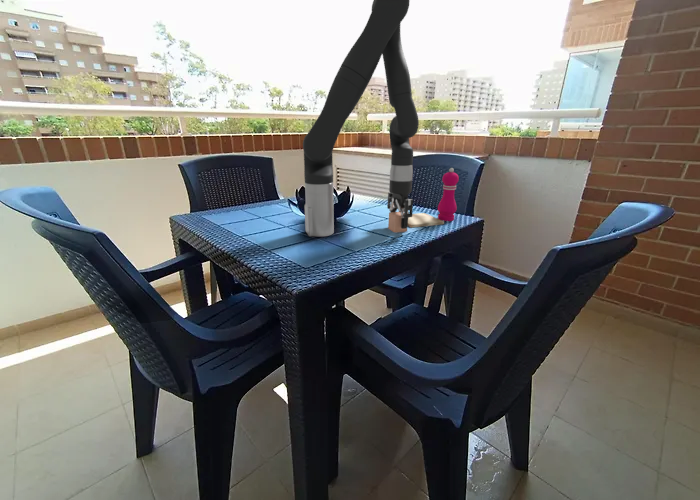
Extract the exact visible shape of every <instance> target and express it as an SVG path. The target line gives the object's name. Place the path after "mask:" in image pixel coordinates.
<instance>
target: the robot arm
mask: <svg viewBox="0 0 700 500" xmlns="http://www.w3.org/2000/svg"><path fill="white" fill-rule="evenodd" d="M410 1H411V0H373V1H372V5H371V13H370V15H369V17H368V20H367V23H366V25H365V26H364V28H363V30H362V32H361V33H360V35H359V37H358V38H357V39H356V41H355V42H354V44H353V46H351V49H349V51H348V53H347V54H346V56H345V58H344V59H343V62H342V63H341V65H340V67H339V69H338V71H337V73H336V75H335V77H334V79H333V82H332V83H331V86H330V88H329V91H328V94H327V96H326V99H325V103H324V105H323V107H322V109H321V112H320V114H319V115H318V117H317V119H316V120H315V122H314V123H313V126H312V127H311V128H310V130H309V131H308V132H307V134H306V135H305V136H304V139H303V141H302V149H303V164H304V165H303V168H304V174H303V175H304V191H305V196H304V197H305V204H304V224H305V225H304V227H305V232H306V234H307V236H308V237H328V236H331V235H333V234H334V232H335V229H334V228H335V225H334V222H335V219H334V218H335V217H334V214H335V213H334V211H335V210H334V206H335V205H334V169H333V168H334V167H333V151H334V148H335V145H336V143H337V140H338V138H339V135H340V132H341V130H342V128H343V126H344V125H345V123H346V121H347V120H348V118H349V117H350V115H351V113H352V112H353V111H354V109H355V108H356V106H357V104H358V103H359V101H360V99H361V98H362V96H363V94H364V93H365V92H366V89H367V88H368V85H369V84H370V81H371V79H372V77H373V75H374V73H375V71H376V69H377V66H378V65H379V63H380V59H381V58H383V59H382V60H383V65H384V71H385V73H384V74H385V79H386V87H387V94H388V101H389V105H390V106H391V107H392V108H393V109H394V112H395V116H394V117H393V118H392V119H391V121H390V124H389V139H390V142H389V143H390V147H391V157H390V158H391V159H390V160H391V161H390V170H389V189H388V191H389V192H388V194H387V205H386V206H387V210H388V209H389V213H390V212H400V213H401V217H402V218H401V228H402V229H405V228H407V229H408V227H409V226H408V218H409V217H412V214H413V206H414V200H413V198H408V197H409V196H408V195H409V194H411V193H412V190H413V188H412V187H413V176H414V175H413V174H414V173H413V172H414V171H413V162H414V149H413V147H412V146H411V145H410V138H413V137H415V136H416V134H417V132H418V130H419V115H418V112H417V109H416V106H415V105H416V104H415V102H414V100H413V95H412V94H413V92H412V84H411V77H410V76H411V75H410V71H409V70H410V69H409V65H408V64H407V60H406V58H405V57H406V56H405V54H404V50H403V46H402V45H403V44H402V39H401V38H402V37H401V23H402V21H403V20H404V19H405V17H406V16H407V14H408V11H409V8H410ZM403 212H404V213H403Z"/></svg>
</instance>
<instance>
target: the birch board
mask: <svg viewBox="0 0 700 500" xmlns="http://www.w3.org/2000/svg"><path fill="white" fill-rule="evenodd" d="M444 224H445V221H442V220H439V219H438V217H435V216H432V215H430V214H428V213H425V212H422V213H421V212H420V213H412V217H409V218H408V227H410V228H420V227H428V226H429V227H431V226H439V225H444Z"/></svg>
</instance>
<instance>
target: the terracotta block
mask: <svg viewBox="0 0 700 500" xmlns="http://www.w3.org/2000/svg"><path fill="white" fill-rule="evenodd" d="M403 213H404V212H403ZM401 218H402V217H401V213H400V212H399V211H396V212H390V211H389V212H388V226H387V229H388V230H390V231H391V232H393V233H404V232H405V233H406V232H408V227H407V228H405V229H402V228H401Z"/></svg>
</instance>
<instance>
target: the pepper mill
mask: <svg viewBox="0 0 700 500" xmlns="http://www.w3.org/2000/svg"><path fill="white" fill-rule="evenodd" d="M454 169H455V168H453V167H450V168H449V169H448V172H446V173H444V174H443V175H442V183H443V185H442V189H443V193H442V197H441V199H440V201H439V203H438V205H437V211H438V215H437V219H439V220H441V221H444V222H453V221H454V220H455V213H456V212H457V208H458V207H457V202H456V200H455V192H456V191H455V190H457V184H458V183H459V175H458V174H457V173H456V172H454V171H455V170H454Z"/></svg>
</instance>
